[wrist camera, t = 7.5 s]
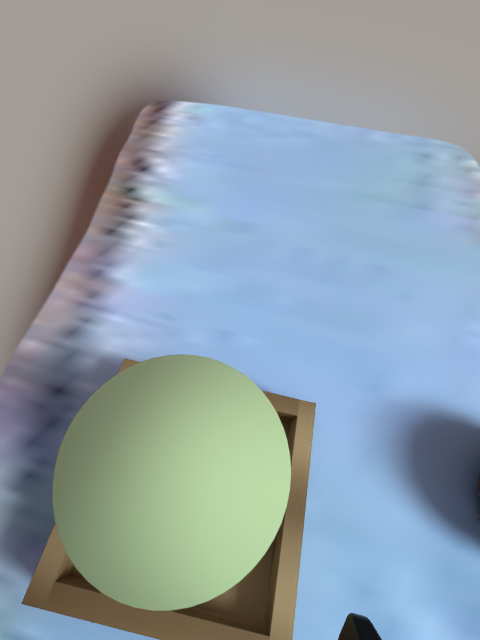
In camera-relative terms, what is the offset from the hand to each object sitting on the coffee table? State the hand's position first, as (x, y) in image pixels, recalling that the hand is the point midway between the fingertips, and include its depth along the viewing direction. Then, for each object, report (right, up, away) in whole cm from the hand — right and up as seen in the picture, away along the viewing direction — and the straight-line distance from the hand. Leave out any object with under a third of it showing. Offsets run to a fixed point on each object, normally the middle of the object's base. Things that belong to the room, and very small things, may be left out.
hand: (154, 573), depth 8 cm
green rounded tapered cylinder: (-1, -4, +12) cm, 12 cm away
